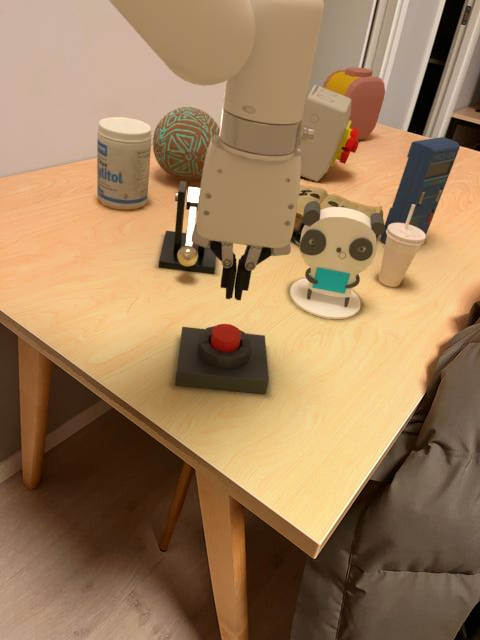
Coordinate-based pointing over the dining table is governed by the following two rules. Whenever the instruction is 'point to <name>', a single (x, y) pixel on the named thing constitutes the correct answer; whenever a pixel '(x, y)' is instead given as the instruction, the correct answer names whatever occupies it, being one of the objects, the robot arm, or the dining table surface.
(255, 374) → the push button box
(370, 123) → the alarm clock
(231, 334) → the stop button
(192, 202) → the lever
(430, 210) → the electronic device
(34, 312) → the dining table surface
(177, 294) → the dining table surface
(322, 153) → the electrical switch box
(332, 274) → the panda figurine
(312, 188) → the book
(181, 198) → the switch bracket
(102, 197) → the supplement tub
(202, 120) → the decorative sphere
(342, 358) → the dining table surface
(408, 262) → the smoothie
